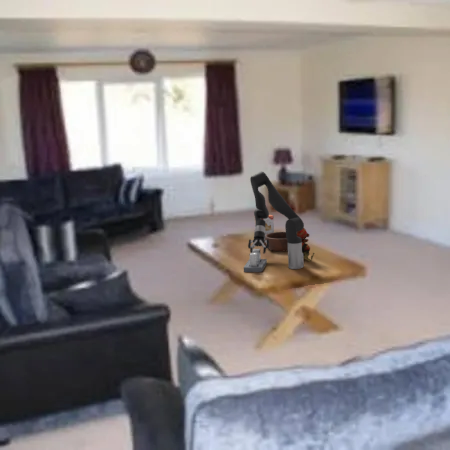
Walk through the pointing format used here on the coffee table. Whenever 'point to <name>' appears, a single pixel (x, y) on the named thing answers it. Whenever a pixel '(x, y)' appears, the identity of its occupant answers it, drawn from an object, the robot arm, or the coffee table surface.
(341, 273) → the coffee table surface
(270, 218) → the cracker box
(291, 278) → the coffee table surface
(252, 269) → the grey square hole board
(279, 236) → the wooden bowl
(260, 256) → the block
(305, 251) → the red flower plant
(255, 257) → the block
